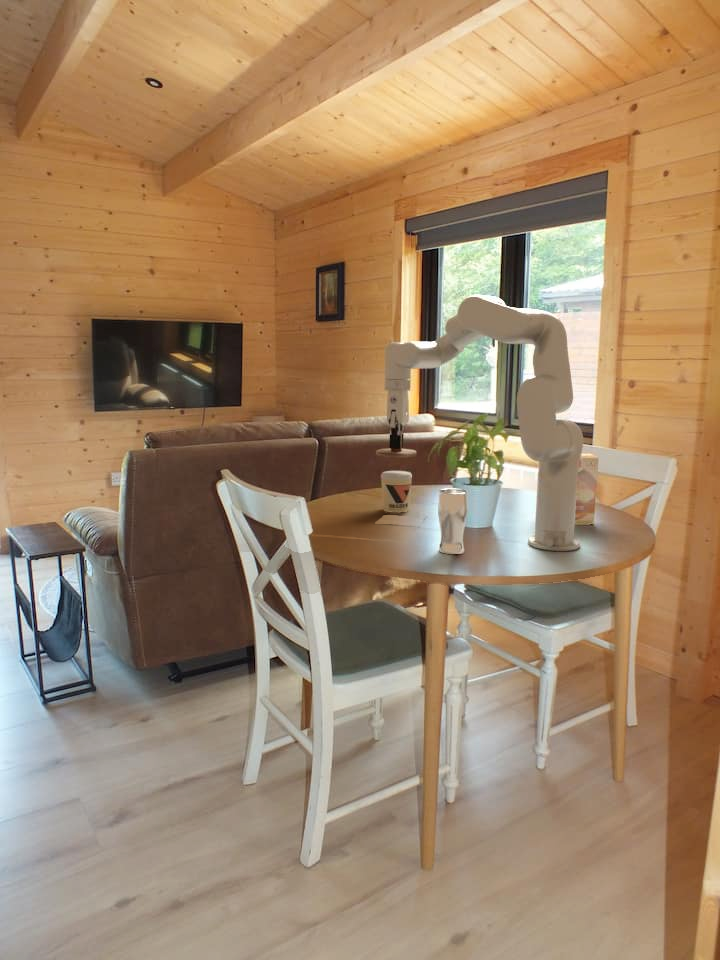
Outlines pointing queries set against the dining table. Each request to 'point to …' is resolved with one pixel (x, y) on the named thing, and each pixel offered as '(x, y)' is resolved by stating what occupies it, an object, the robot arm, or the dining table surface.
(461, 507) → the beer glass
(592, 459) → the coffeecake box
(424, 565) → the dining table surface
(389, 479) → the coffee cup
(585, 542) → the dining table surface
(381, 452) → the lid
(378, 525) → the dining table surface
